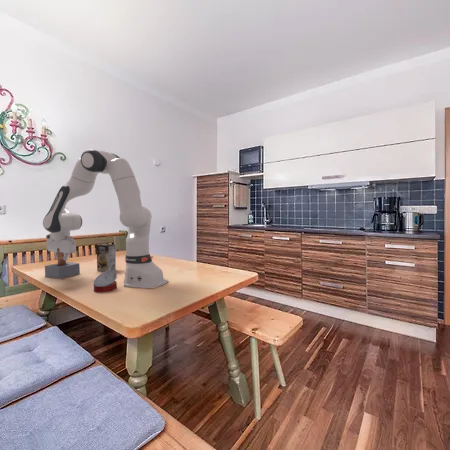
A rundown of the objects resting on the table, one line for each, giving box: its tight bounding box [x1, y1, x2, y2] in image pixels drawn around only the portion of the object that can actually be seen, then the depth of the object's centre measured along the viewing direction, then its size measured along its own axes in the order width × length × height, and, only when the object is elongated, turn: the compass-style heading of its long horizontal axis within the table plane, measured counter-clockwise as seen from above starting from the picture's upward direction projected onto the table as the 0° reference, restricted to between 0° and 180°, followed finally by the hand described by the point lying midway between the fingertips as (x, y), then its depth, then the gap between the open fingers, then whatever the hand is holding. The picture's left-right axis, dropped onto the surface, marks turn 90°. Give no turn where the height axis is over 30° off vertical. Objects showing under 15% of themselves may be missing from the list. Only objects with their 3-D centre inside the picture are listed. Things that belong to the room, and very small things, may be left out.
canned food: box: [93, 270, 118, 294], centre depth 118 cm, size 11×10×10 cm
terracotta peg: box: [57, 248, 67, 266], centre depth 144 cm, size 4×4×12 cm
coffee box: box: [96, 243, 117, 272], centre depth 155 cm, size 9×6×16 cm
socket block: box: [44, 261, 81, 280], centre depth 144 cm, size 12×12×6 cm
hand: (61, 260), depth 144 cm, fingers closed on terracotta peg, 4 cm apart
